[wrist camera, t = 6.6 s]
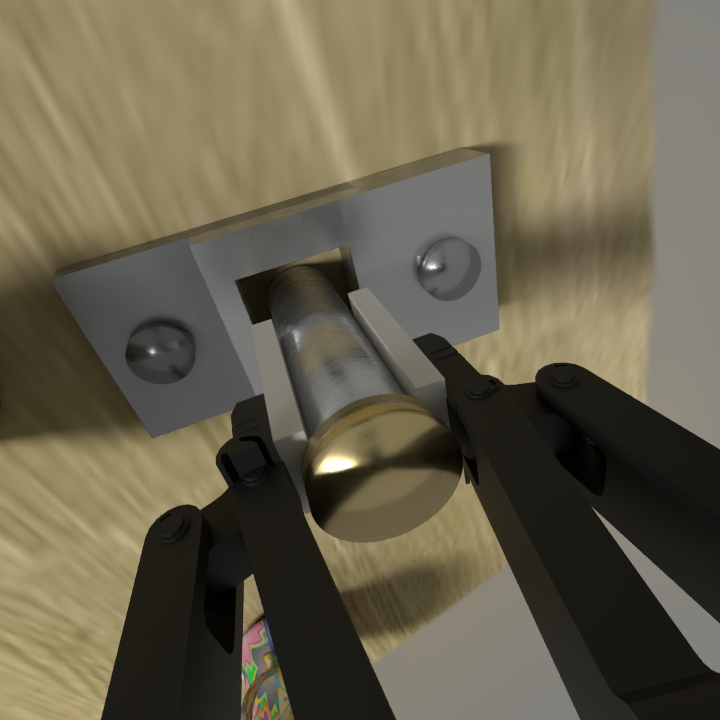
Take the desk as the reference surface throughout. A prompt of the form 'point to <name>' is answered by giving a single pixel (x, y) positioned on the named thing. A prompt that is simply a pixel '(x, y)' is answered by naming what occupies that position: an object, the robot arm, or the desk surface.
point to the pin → (358, 420)
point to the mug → (262, 678)
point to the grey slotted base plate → (276, 248)
